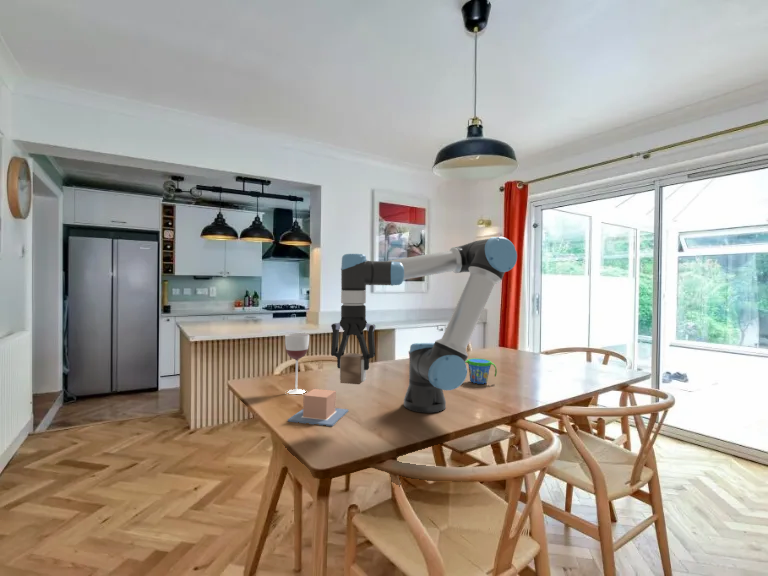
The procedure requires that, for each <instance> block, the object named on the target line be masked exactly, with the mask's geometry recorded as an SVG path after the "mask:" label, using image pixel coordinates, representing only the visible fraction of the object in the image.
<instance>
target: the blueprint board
mask: <svg viewBox="0 0 768 576" xmlns="http://www.w3.org/2000/svg"><path fill="white" fill-rule="evenodd" d="M348 412H349V409H347V408H337V407H335V412H334V413H333V414H332V415H331V416H330V417H329V418H327V419H317V418H309V417H303V408H302V409H301V410H300V411H298V412H297V413H295V414H293V415H292V416H290V417H289V418H288V419H287V422H290V423H291V422H292V423H298V422H299V424H306V423H309V425H314V424H319V425H318V426H323V425H326V427H331V426H332V427H333V426H334V425H336V424H337V423H336V422H337V421H338V420H339V419H340V418H341V417H342V418H343V417H344V416H345V415H346V414H347V413H348ZM342 418H341V419H342ZM341 419H340V420H341ZM340 420H339V421H340ZM339 421H338V422H339Z"/></svg>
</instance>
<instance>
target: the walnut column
mask: <svg viewBox="0 0 768 576" xmlns="http://www.w3.org/2000/svg"><path fill="white" fill-rule="evenodd" d="M362 359H363V355H362V353H355V352H354V353H352V352H351V353H350V352H347V353H345V354H343V356H341V359H340V368H339V381H340V384H347V385H348V384H350V385H361V383H363V382H361V360H362Z"/></svg>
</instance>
